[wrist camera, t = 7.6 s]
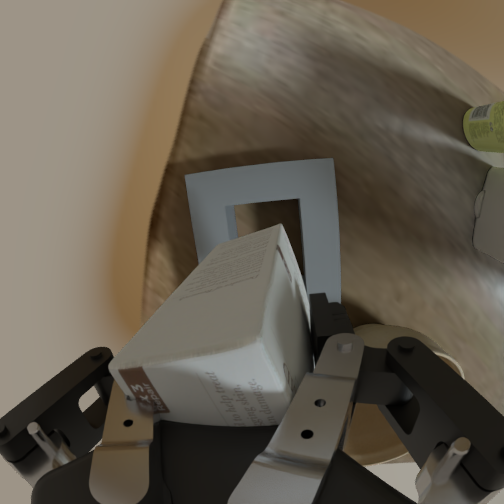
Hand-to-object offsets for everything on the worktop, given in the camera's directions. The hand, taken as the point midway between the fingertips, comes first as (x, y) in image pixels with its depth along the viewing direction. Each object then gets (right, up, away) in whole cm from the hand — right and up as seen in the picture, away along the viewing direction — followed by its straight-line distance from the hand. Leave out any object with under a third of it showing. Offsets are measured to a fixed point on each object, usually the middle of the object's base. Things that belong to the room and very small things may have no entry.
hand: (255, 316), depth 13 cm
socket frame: (+2, +4, +15) cm, 15 cm away
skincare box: (0, +1, +5) cm, 5 cm away
